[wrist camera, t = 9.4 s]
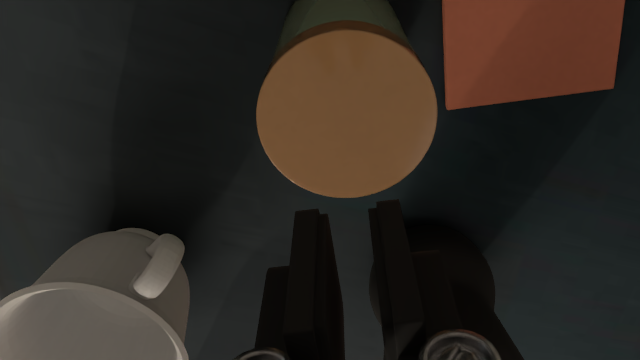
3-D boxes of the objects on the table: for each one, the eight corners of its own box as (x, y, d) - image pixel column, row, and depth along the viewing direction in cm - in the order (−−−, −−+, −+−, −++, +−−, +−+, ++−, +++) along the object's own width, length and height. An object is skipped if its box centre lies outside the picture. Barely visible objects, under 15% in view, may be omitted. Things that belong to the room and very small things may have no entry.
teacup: (274, 224, 38) (257, 326, 29) (167, 339, 44) (128, 453, 35) (124, 127, 35) (56, 211, 26) (30, 267, 40) (-51, 373, 32)
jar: (223, -133, 21) (249, 190, 19) (405, -165, 20) (456, 165, 18) (283, 25, 34) (303, 225, 32) (394, 9, 34) (423, 211, 31)
